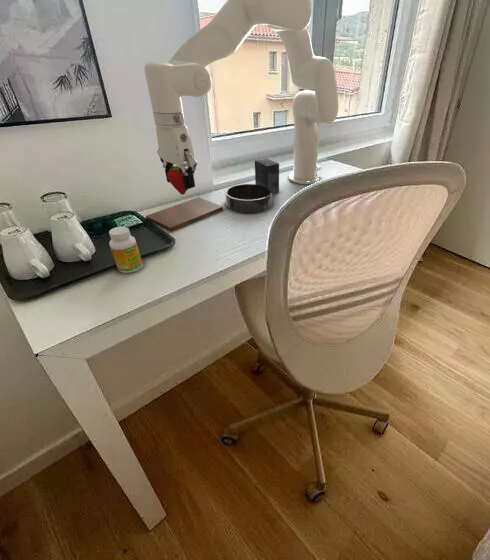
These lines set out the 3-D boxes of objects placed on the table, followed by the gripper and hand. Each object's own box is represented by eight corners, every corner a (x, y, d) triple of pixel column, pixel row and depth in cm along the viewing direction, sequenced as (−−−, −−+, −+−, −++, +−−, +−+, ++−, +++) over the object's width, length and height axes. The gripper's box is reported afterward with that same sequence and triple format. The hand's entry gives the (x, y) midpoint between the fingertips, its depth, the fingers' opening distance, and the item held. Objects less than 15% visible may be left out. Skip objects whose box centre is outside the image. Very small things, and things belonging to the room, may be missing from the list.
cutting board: (199, 200, 110) (198, 197, 109) (223, 210, 104) (223, 206, 104) (146, 219, 96) (145, 215, 96) (170, 231, 91) (170, 227, 90)
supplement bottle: (134, 275, 73) (122, 237, 68) (113, 271, 74) (99, 234, 68) (147, 262, 78) (137, 226, 72) (127, 259, 79) (115, 223, 73)
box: (279, 192, 119) (279, 163, 113) (266, 195, 116) (266, 165, 110) (267, 185, 124) (267, 157, 118) (255, 188, 121) (254, 160, 115)
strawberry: (180, 188, 100) (174, 155, 94) (199, 193, 97) (194, 160, 91) (166, 194, 96) (159, 160, 90) (185, 200, 93) (179, 165, 87)
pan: (248, 192, 117) (247, 180, 115) (280, 203, 110) (280, 191, 108) (216, 205, 107) (215, 192, 105) (250, 218, 100) (249, 204, 98)
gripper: (202, 122, 83) (210, 188, 93) (162, 113, 91) (173, 175, 101) (178, 126, 78) (189, 195, 88) (137, 116, 86) (152, 180, 96)
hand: (181, 184), depth 95 cm, fingers closed on strawberry, 7 cm apart
